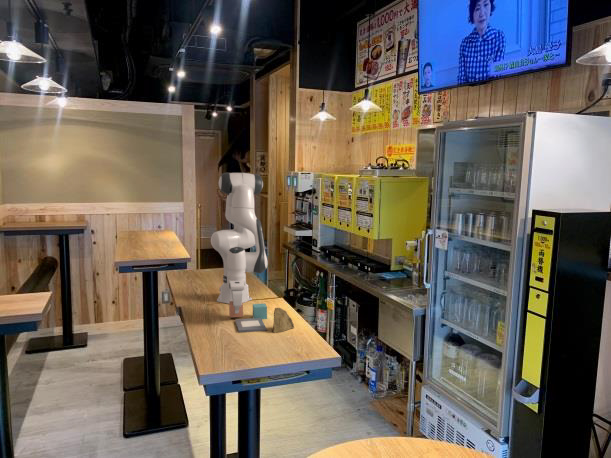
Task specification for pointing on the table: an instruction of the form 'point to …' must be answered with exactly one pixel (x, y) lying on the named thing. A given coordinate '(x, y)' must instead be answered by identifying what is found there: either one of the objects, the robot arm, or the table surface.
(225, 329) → the table surface
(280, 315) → the rock
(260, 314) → the teal block
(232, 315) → the terracotta block
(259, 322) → the grey flat plate
